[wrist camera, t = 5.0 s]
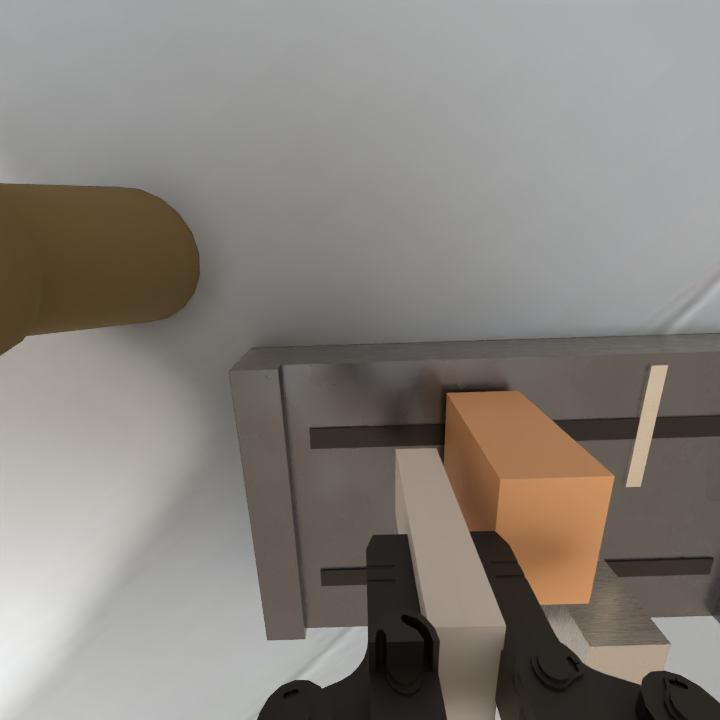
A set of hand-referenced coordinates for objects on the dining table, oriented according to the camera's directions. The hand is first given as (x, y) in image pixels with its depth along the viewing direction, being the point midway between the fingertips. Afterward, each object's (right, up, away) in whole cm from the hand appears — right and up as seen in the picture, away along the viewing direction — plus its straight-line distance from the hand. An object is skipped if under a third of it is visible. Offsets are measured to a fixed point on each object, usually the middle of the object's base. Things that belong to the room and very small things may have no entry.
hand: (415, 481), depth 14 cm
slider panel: (+6, -2, +7) cm, 9 cm away
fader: (+3, +1, +2) cm, 4 cm away
